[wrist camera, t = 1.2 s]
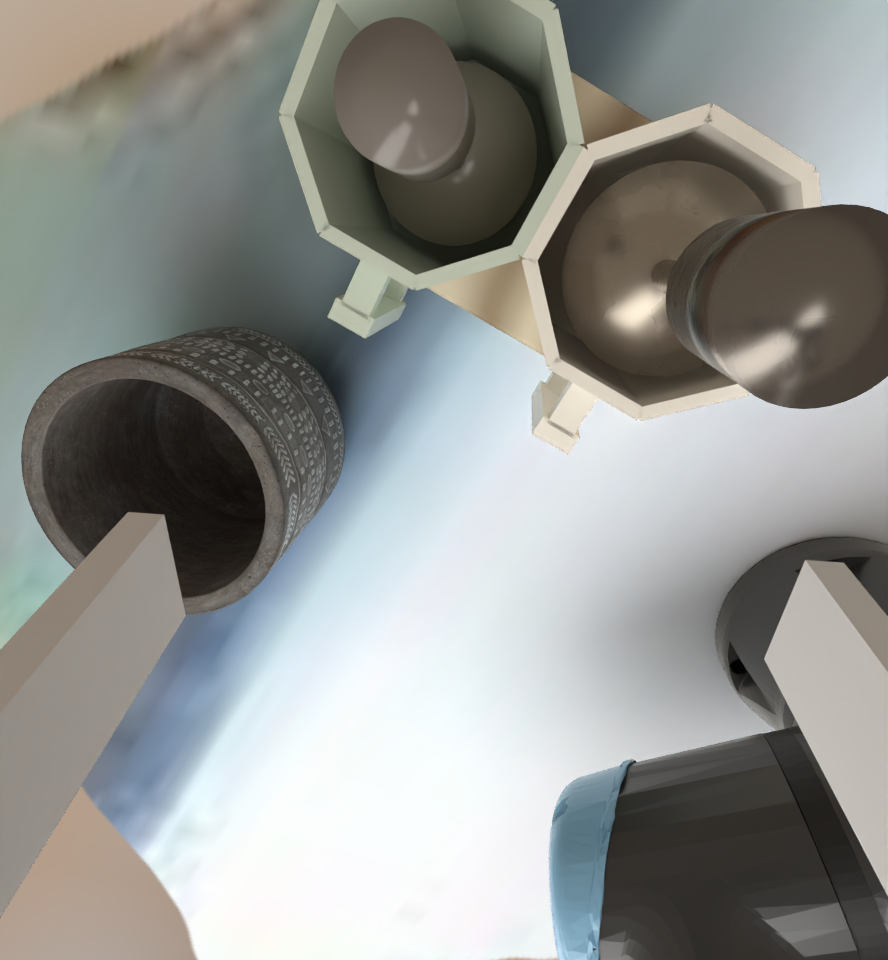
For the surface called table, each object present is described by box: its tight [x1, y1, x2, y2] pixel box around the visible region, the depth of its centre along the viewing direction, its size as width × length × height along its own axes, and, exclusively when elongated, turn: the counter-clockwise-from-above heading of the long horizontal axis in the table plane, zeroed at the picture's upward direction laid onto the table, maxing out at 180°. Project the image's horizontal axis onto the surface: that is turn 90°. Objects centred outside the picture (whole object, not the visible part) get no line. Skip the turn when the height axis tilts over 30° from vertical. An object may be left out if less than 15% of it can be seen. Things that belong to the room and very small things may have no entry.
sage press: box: [279, 0, 584, 339], centre depth 28 cm, size 11×14×20 cm
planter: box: [21, 327, 345, 615], centre depth 38 cm, size 14×14×15 cm
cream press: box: [522, 103, 821, 454], centre depth 32 cm, size 11×14×14 cm
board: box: [427, 72, 652, 419], centre depth 38 cm, size 24×14×1 cm, turn 62°
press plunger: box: [561, 160, 888, 409], centre depth 19 cm, size 8×8×15 cm
